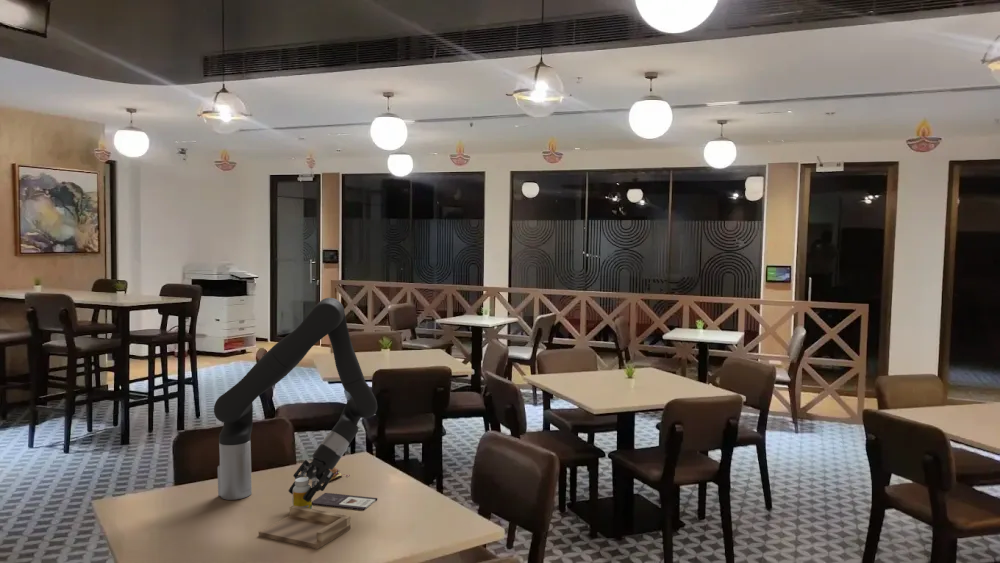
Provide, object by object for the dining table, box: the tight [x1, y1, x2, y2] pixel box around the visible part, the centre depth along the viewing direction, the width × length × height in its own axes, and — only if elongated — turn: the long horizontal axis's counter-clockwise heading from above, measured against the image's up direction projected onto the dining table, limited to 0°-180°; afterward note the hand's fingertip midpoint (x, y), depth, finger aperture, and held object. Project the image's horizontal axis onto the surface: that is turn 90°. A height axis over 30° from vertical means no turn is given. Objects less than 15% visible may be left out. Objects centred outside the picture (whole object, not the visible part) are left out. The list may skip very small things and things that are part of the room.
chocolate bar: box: [312, 492, 378, 511], centre depth 216 cm, size 9×1×18 cm
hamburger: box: [329, 466, 350, 481], centre depth 239 cm, size 14×14×6 cm
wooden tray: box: [258, 504, 351, 550], centre depth 193 cm, size 20×14×4 cm
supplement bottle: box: [292, 477, 313, 509], centre depth 208 cm, size 5×5×10 cm
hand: (298, 496), depth 207 cm, fingers open, 8 cm apart
